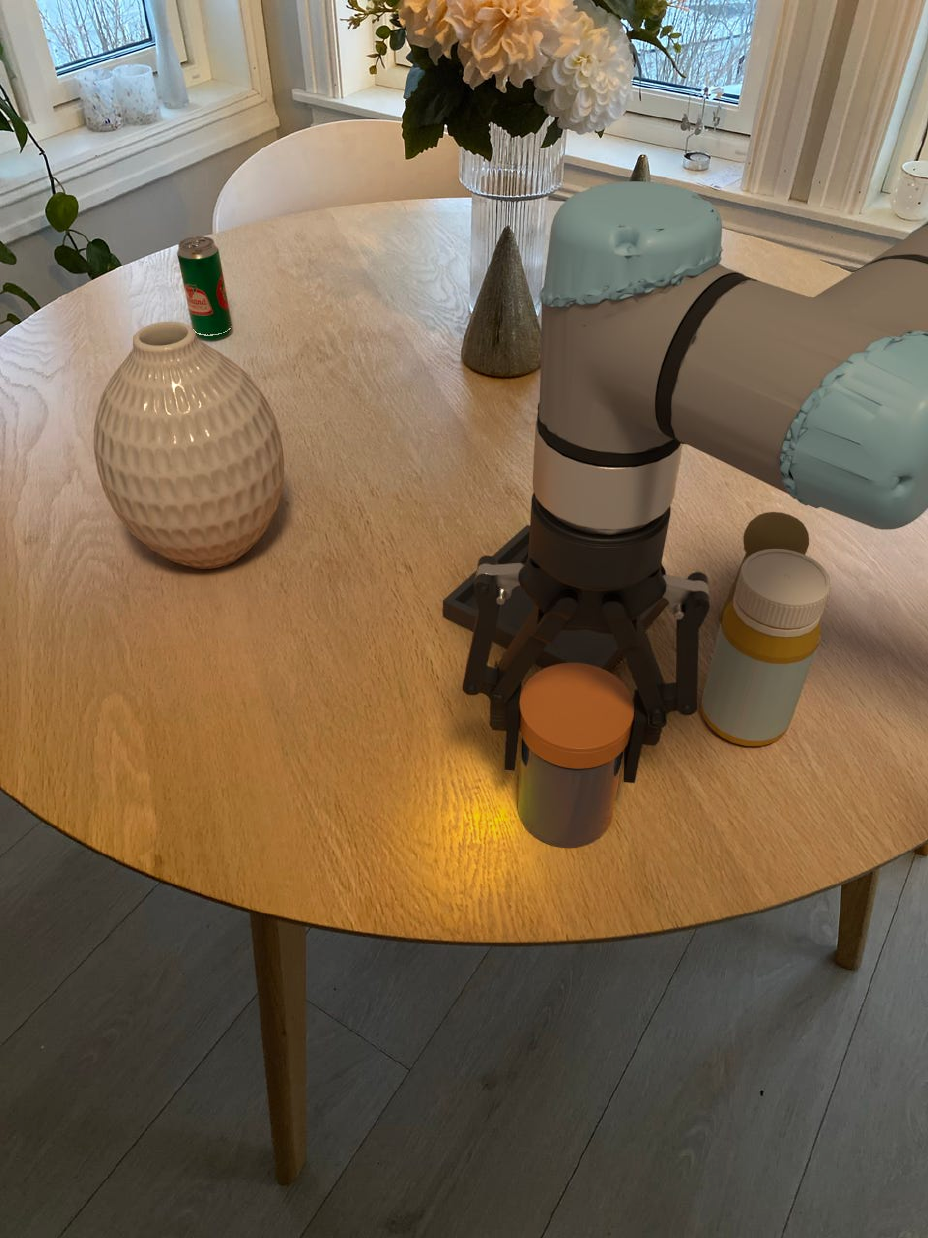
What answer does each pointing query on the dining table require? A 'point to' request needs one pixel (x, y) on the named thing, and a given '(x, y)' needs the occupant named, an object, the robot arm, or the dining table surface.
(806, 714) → the dining table surface
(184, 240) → the soda can
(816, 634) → the bottle
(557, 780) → the jar
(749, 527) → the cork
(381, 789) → the dining table surface
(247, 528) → the vase
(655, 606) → the tray
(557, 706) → the lid
